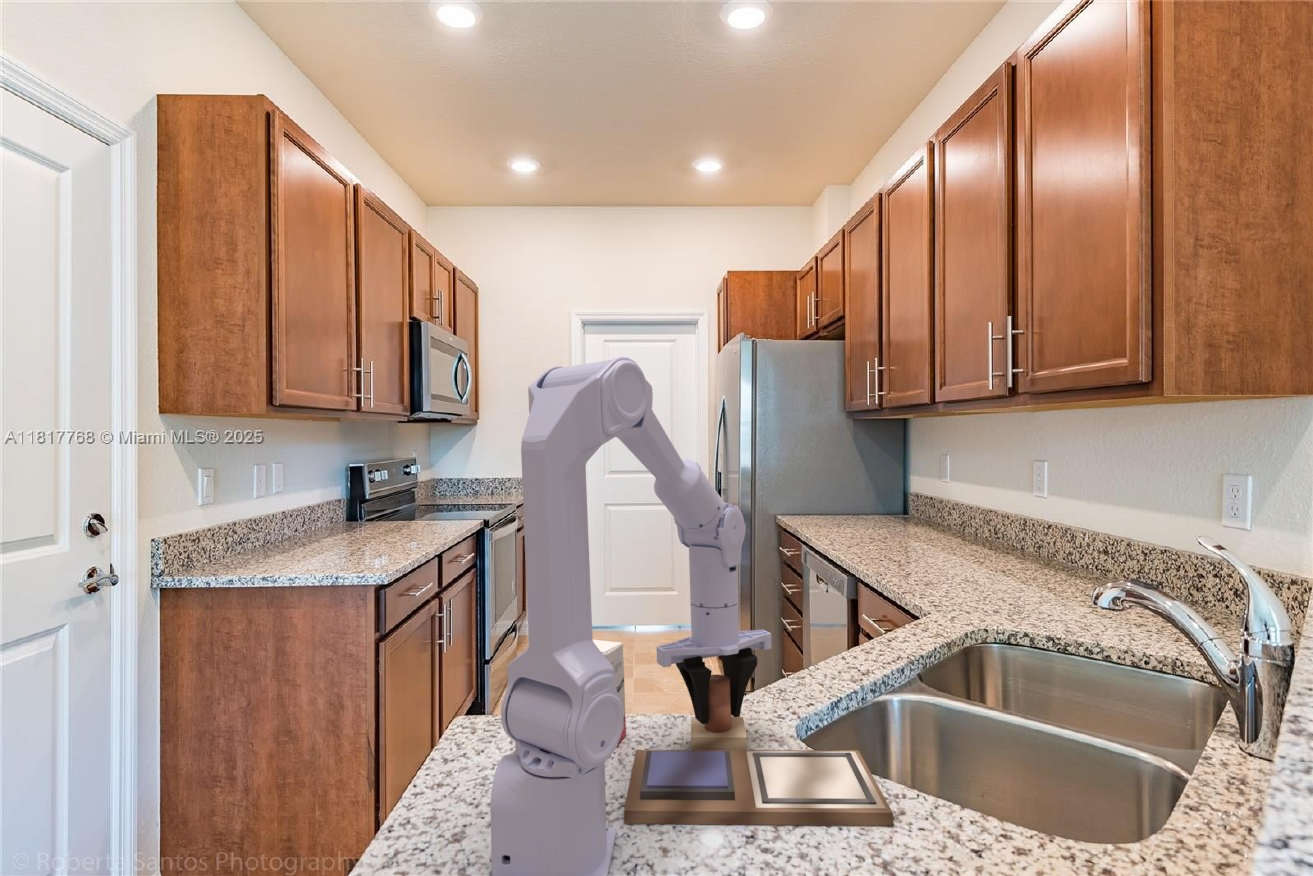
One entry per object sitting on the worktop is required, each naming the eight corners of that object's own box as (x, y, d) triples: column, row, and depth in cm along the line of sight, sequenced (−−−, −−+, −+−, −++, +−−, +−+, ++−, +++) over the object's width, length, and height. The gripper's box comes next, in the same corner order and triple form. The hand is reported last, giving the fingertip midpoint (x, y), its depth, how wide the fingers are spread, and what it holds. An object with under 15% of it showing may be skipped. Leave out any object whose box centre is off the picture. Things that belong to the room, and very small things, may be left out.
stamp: (691, 758, 71) (689, 688, 71) (691, 736, 76) (689, 671, 76) (747, 758, 70) (745, 687, 71) (743, 736, 76) (741, 671, 76)
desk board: (624, 823, 58) (623, 799, 59) (636, 760, 70) (635, 740, 70) (893, 826, 57) (892, 801, 57) (858, 761, 69) (858, 740, 69)
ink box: (627, 735, 77) (625, 640, 77) (608, 753, 72) (606, 652, 73) (569, 725, 80) (567, 634, 81) (547, 742, 76) (545, 645, 76)
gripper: (672, 618, 67) (676, 744, 67) (784, 602, 73) (788, 718, 73) (648, 604, 74) (651, 719, 73) (752, 590, 79) (756, 697, 79)
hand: (717, 717), depth 73 cm, fingers open, 4 cm apart
